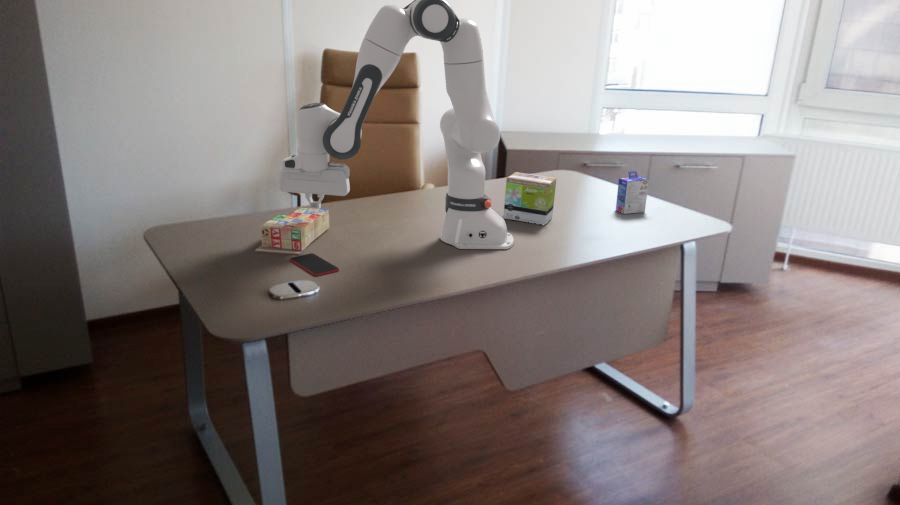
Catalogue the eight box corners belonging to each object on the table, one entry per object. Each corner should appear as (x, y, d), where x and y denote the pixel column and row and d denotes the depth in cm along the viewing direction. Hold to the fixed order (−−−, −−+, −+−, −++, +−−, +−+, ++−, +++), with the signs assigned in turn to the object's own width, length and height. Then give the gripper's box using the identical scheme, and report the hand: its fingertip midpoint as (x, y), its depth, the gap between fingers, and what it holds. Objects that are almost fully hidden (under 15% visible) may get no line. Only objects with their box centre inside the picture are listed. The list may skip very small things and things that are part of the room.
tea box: (502, 219, 220) (505, 177, 215) (511, 212, 229) (514, 171, 224) (545, 226, 215) (549, 182, 210) (553, 218, 224) (557, 176, 219)
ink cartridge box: (635, 208, 240) (641, 169, 235) (645, 212, 235) (651, 173, 230) (614, 210, 236) (619, 171, 231) (623, 214, 232) (629, 174, 227)
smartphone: (312, 252, 182) (340, 268, 171) (312, 255, 182) (340, 272, 172) (288, 258, 178) (315, 275, 167) (288, 261, 178) (315, 278, 167)
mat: (325, 227, 205) (325, 226, 204) (299, 255, 181) (299, 253, 181) (285, 224, 206) (284, 223, 206) (254, 251, 182) (254, 250, 182)
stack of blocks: (330, 228, 203) (293, 224, 205) (329, 208, 201) (292, 205, 203) (301, 251, 183) (261, 246, 186) (300, 230, 181) (259, 226, 183)
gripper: (352, 161, 187) (352, 207, 191) (283, 156, 188) (285, 202, 193) (346, 166, 181) (347, 213, 186) (275, 161, 182) (277, 208, 187)
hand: (315, 208), depth 189 cm, fingers closed
